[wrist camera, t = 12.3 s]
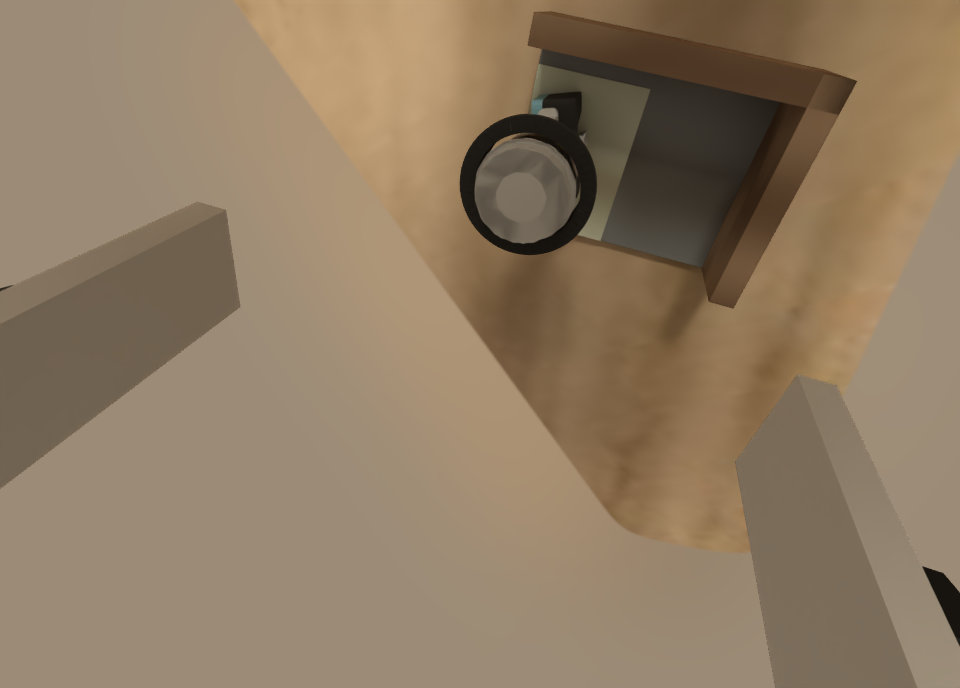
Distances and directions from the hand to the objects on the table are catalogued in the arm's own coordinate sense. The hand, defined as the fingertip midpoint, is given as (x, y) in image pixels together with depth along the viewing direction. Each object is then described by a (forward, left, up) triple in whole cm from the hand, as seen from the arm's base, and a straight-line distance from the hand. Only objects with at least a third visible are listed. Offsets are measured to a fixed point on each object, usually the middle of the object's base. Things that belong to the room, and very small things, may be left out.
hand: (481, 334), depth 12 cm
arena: (-1, +3, -19) cm, 20 cm away
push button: (0, -1, -19) cm, 19 cm away
